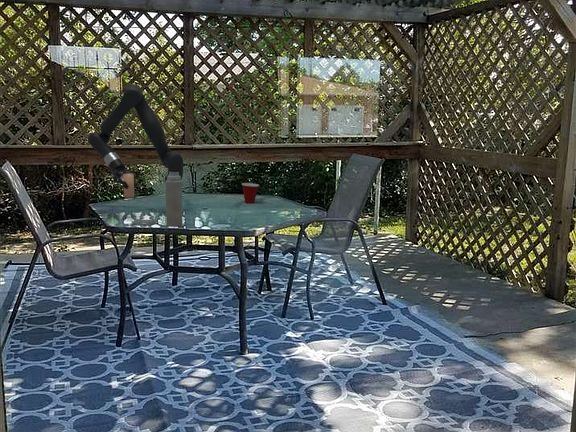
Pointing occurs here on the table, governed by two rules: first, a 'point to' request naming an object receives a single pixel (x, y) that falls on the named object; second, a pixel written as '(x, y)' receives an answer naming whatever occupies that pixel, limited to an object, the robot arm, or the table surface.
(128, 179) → the tan tapered cylinder
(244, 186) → the plastic cup
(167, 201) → the thermos bottle
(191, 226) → the table surface
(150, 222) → the coaster
